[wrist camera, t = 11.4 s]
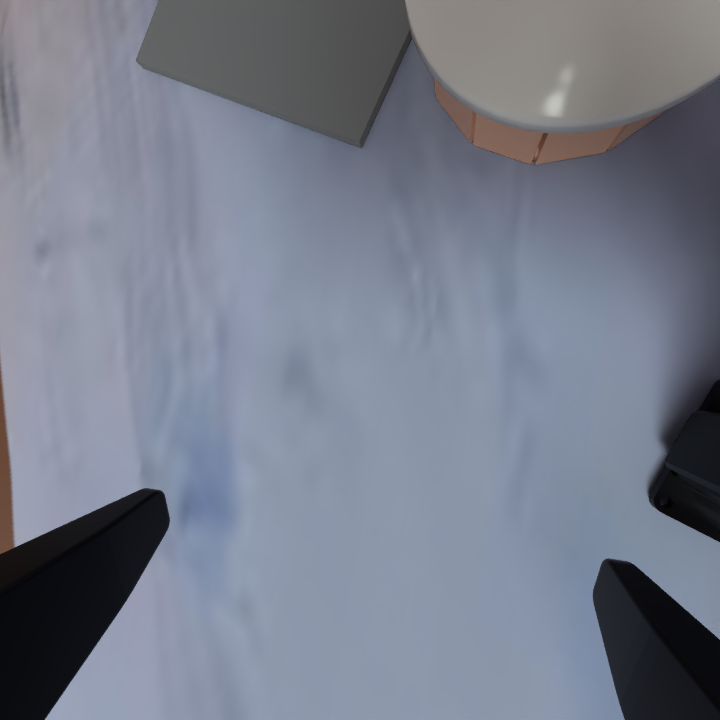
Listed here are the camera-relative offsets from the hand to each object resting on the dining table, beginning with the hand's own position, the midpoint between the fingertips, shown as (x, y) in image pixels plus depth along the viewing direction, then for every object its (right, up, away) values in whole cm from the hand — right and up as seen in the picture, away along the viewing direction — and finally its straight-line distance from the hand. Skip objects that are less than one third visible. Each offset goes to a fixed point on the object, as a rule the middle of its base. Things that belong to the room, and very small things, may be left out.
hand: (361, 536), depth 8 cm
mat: (-3, +26, +14) cm, 29 cm away
